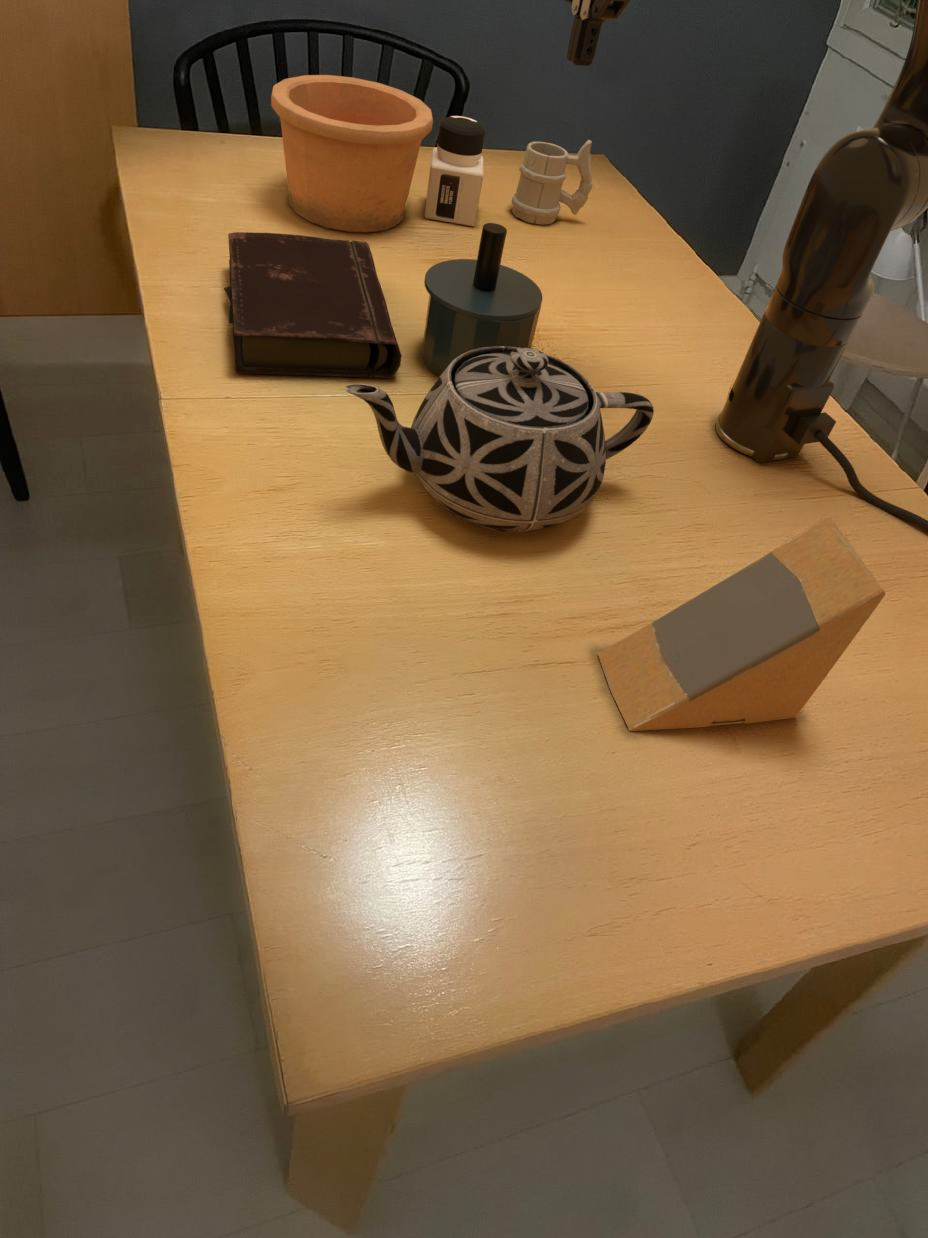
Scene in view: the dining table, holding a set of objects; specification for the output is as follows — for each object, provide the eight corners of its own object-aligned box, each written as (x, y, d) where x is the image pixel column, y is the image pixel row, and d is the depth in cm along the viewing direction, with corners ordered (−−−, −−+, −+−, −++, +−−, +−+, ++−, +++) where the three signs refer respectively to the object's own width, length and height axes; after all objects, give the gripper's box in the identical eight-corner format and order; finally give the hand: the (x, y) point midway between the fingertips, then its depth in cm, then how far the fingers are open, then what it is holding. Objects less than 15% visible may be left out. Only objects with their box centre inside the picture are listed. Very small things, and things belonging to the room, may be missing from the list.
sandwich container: (594, 651, 74) (649, 513, 63) (753, 642, 78) (830, 512, 67) (627, 733, 68) (694, 598, 58) (797, 719, 72) (889, 590, 62)
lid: (560, 322, 98) (578, 254, 92) (452, 329, 92) (463, 258, 87) (508, 266, 106) (522, 201, 100) (405, 270, 100) (413, 201, 95)
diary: (369, 277, 115) (373, 239, 112) (399, 380, 99) (404, 339, 95) (222, 268, 110) (221, 227, 107) (227, 375, 94) (226, 331, 90)
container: (474, 227, 132) (490, 134, 123) (423, 218, 131) (435, 124, 122) (475, 207, 137) (490, 117, 128) (426, 199, 137) (438, 107, 127)
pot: (542, 384, 103) (559, 317, 97) (447, 394, 98) (458, 324, 92) (497, 331, 110) (510, 266, 104) (406, 338, 105) (414, 269, 99)
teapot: (318, 438, 89) (326, 297, 78) (591, 430, 98) (631, 303, 87) (355, 566, 76) (370, 420, 66) (663, 543, 86) (720, 412, 75)
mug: (508, 202, 141) (523, 120, 133) (579, 213, 143) (599, 133, 134) (511, 221, 136) (527, 138, 127) (585, 232, 138) (606, 151, 129)
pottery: (238, 198, 125) (236, 86, 115) (339, 168, 139) (345, 66, 129) (355, 255, 119) (363, 141, 109) (448, 217, 133) (463, 114, 123)
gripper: (708, -149, 72) (645, 86, 85) (623, -174, 80) (577, 44, 92) (634, -163, 69) (580, 83, 82) (553, -188, 77) (515, 40, 89)
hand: (578, 62), depth 87 cm, fingers closed
